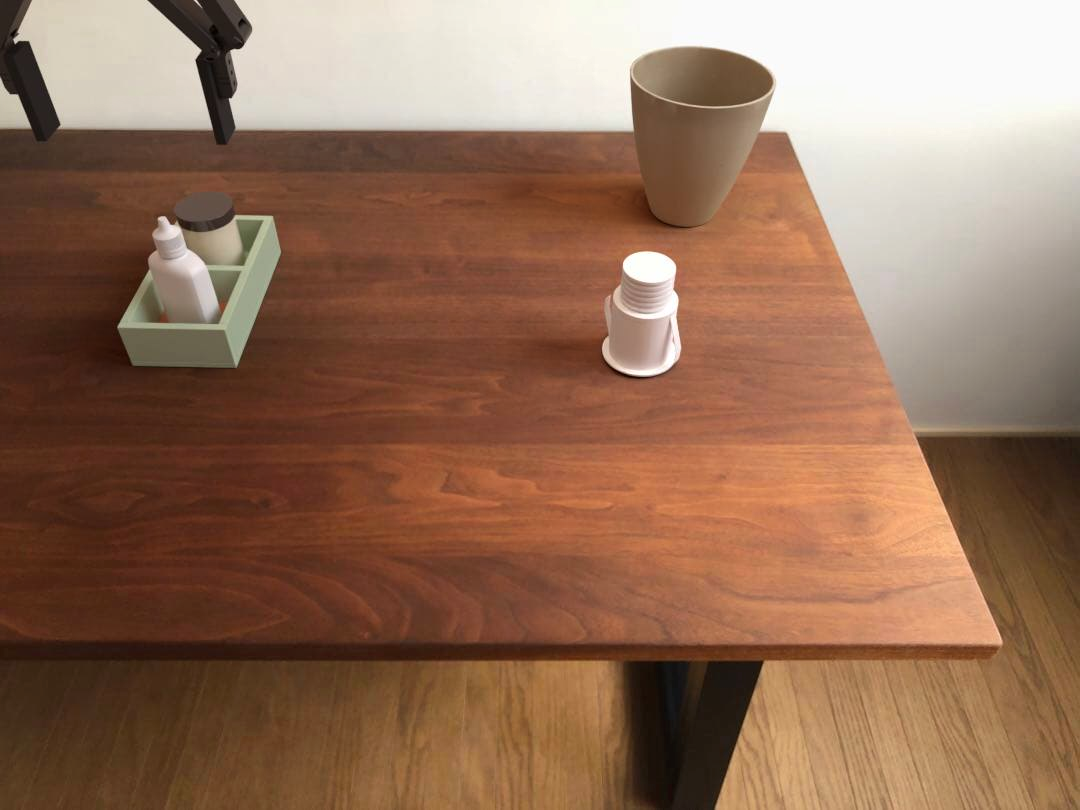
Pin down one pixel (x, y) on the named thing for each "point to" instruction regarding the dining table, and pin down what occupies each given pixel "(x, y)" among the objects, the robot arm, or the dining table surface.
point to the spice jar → (211, 228)
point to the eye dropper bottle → (181, 279)
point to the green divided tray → (236, 296)
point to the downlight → (643, 317)
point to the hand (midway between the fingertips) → (137, 135)
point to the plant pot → (695, 126)
